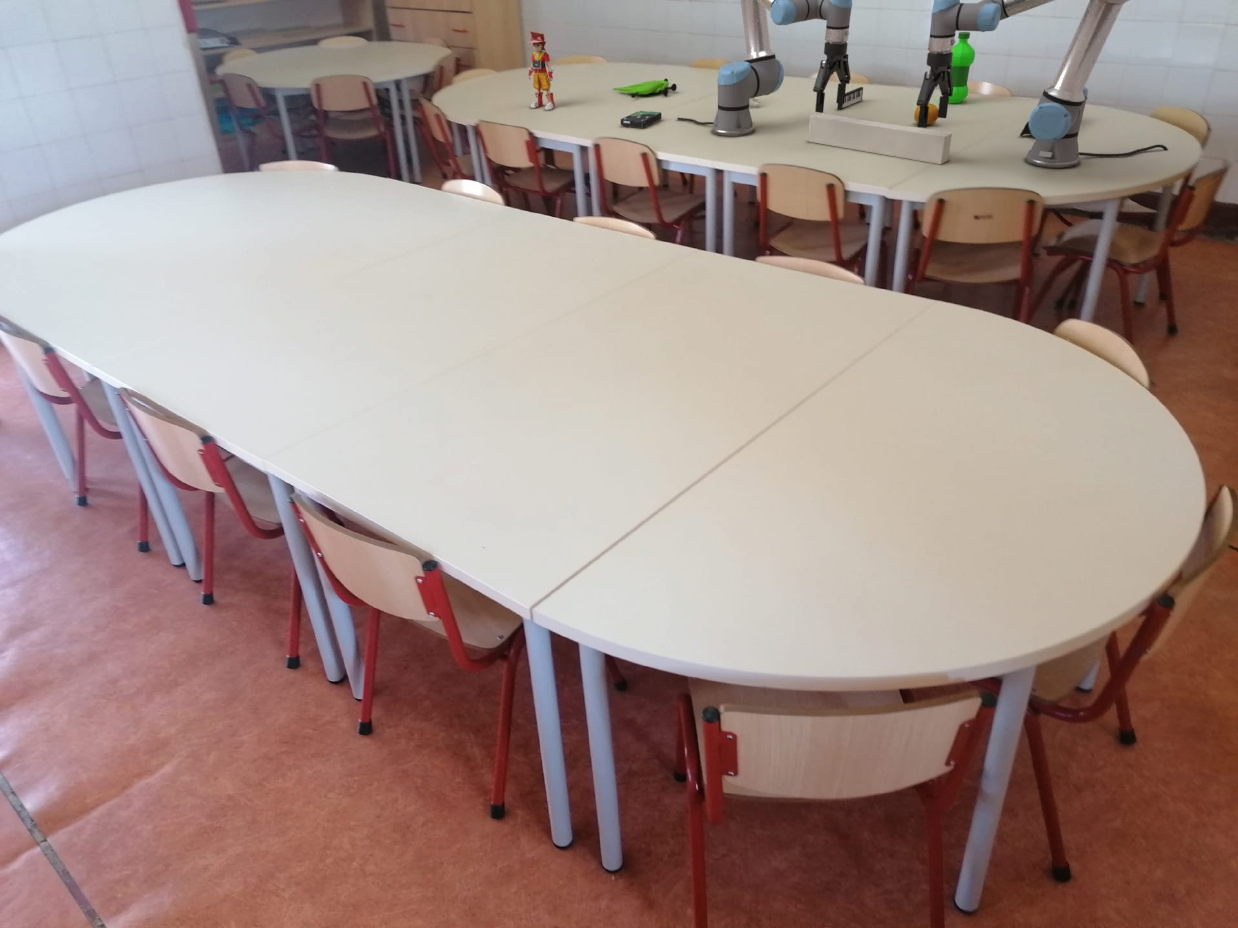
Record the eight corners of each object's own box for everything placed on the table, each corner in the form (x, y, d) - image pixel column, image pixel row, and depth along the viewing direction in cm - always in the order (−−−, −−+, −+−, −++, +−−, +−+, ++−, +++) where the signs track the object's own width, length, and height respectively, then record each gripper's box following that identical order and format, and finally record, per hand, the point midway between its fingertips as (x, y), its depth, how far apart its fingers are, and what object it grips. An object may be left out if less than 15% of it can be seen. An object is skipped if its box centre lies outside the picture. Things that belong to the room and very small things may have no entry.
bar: (808, 141, 320) (810, 116, 315) (815, 138, 323) (817, 113, 318) (940, 164, 291) (944, 137, 286) (947, 160, 294) (952, 133, 289)
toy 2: (686, 85, 398) (631, 84, 414) (685, 72, 395) (629, 72, 411) (651, 104, 381) (596, 103, 397) (650, 92, 378) (594, 91, 394)
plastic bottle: (973, 101, 354) (984, 32, 339) (955, 106, 349) (966, 36, 335) (952, 97, 361) (962, 29, 346) (934, 102, 356) (944, 33, 342)
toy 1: (525, 109, 381) (517, 32, 364) (534, 104, 388) (527, 28, 371) (550, 110, 377) (543, 32, 360) (559, 105, 384) (553, 28, 367)
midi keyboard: (840, 109, 354) (841, 96, 351) (837, 109, 355) (838, 96, 352) (862, 100, 364) (863, 87, 361) (859, 100, 365) (860, 87, 362)
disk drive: (643, 129, 346) (662, 119, 356) (642, 121, 344) (661, 112, 354) (620, 126, 351) (639, 117, 361) (620, 119, 349) (639, 109, 359)
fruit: (909, 116, 327) (923, 96, 324) (910, 119, 335) (924, 100, 332) (928, 129, 326) (942, 109, 323) (929, 132, 334) (943, 112, 331)
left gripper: (825, 50, 290) (819, 117, 302) (865, 36, 304) (857, 101, 317) (806, 47, 294) (800, 114, 306) (846, 34, 308) (839, 98, 321)
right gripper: (932, 60, 268) (924, 133, 280) (970, 45, 283) (960, 115, 295) (909, 58, 273) (902, 130, 285) (947, 43, 287) (939, 112, 299)
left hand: (829, 108), depth 312 cm, fingers open, 13 cm apart
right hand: (932, 122), depth 290 cm, fingers open, 13 cm apart
